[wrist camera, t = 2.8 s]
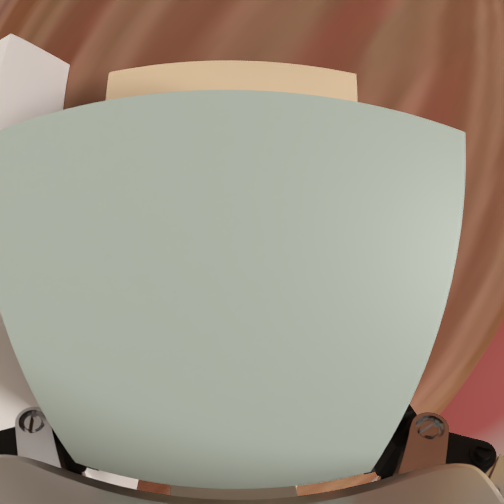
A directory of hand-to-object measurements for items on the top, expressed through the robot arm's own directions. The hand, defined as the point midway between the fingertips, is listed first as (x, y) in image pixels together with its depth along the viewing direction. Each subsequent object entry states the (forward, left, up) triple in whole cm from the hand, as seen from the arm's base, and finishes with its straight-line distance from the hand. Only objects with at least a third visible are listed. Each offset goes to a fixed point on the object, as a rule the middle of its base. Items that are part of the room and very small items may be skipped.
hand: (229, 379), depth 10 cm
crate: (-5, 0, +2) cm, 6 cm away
